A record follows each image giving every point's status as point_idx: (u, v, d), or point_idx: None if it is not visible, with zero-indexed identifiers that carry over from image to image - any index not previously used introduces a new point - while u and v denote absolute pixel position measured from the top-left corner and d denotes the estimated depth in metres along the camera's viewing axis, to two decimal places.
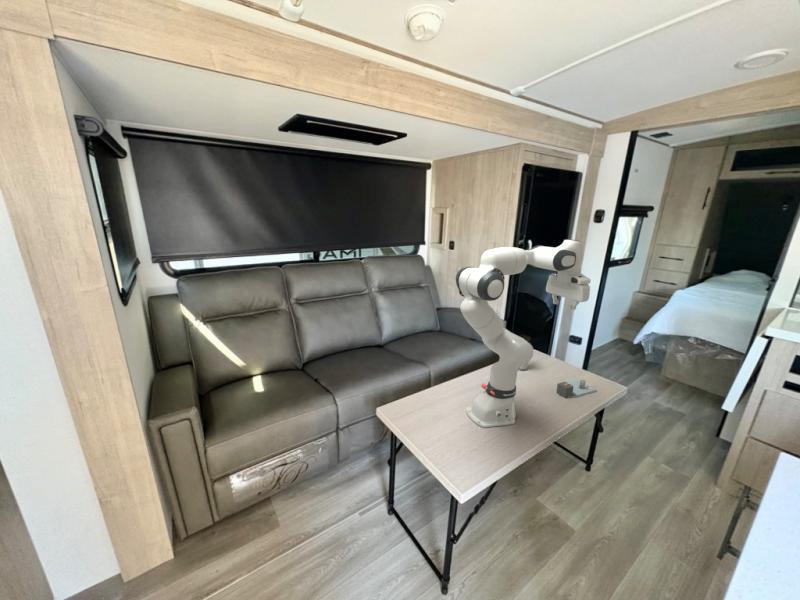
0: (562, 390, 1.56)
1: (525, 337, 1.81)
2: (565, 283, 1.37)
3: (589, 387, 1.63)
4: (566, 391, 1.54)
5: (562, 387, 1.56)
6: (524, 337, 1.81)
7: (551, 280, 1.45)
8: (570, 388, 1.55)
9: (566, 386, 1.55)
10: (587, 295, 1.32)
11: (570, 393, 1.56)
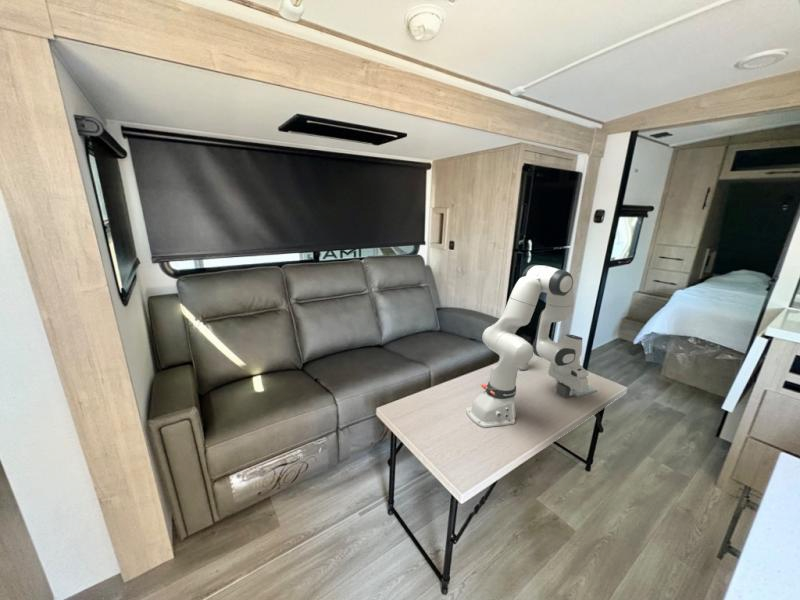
0: (562, 390, 1.56)
1: (525, 337, 1.81)
2: (566, 373, 1.52)
3: (589, 387, 1.63)
4: (566, 391, 1.54)
5: (562, 387, 1.56)
6: (524, 337, 1.81)
7: (553, 366, 1.60)
8: None
9: (566, 386, 1.55)
10: (585, 387, 1.47)
11: None
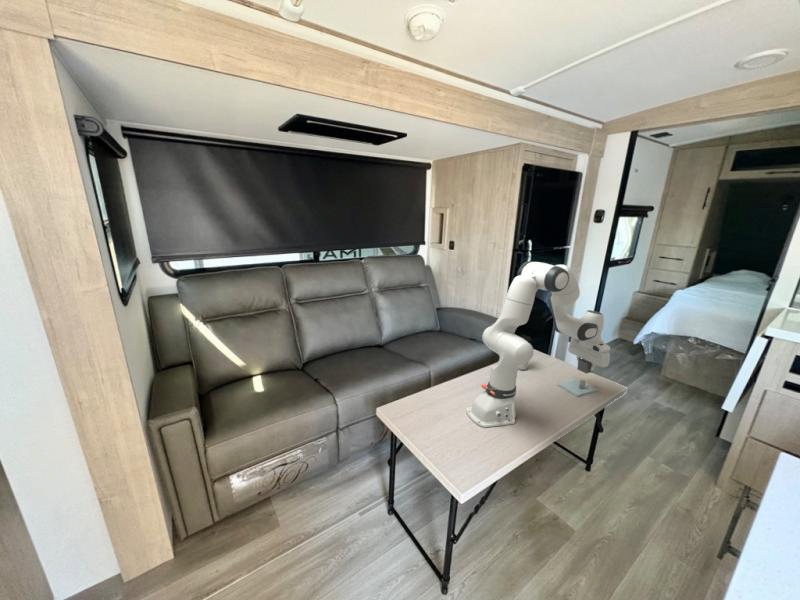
0: (583, 365, 1.57)
1: (525, 337, 1.81)
2: (587, 349, 1.54)
3: (589, 387, 1.63)
4: (588, 367, 1.56)
5: (583, 363, 1.57)
6: (524, 337, 1.81)
7: (573, 343, 1.62)
8: (591, 364, 1.56)
9: (587, 362, 1.57)
10: (607, 362, 1.48)
11: None
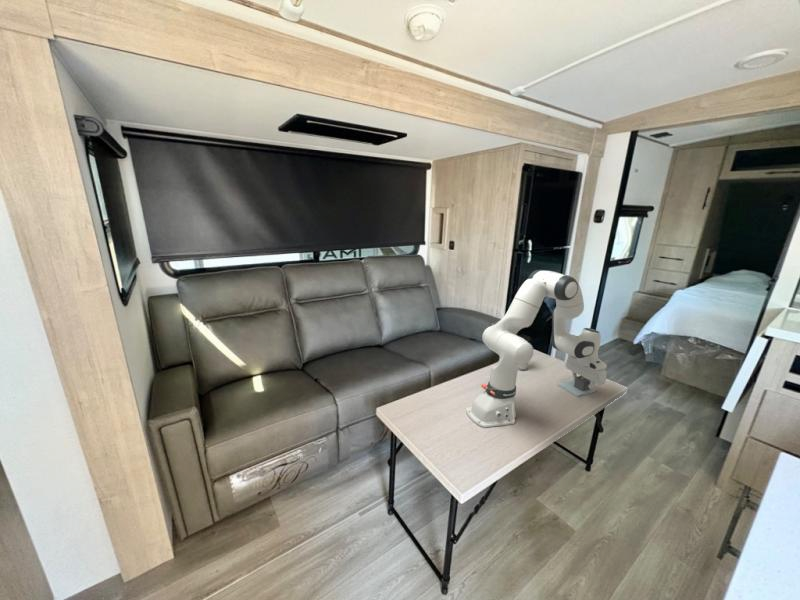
0: (580, 383, 1.60)
1: (525, 337, 1.81)
2: (584, 366, 1.56)
3: None
4: (584, 385, 1.58)
5: (580, 381, 1.59)
6: (524, 337, 1.81)
7: (571, 359, 1.64)
8: (587, 381, 1.59)
9: (583, 380, 1.59)
10: (604, 379, 1.51)
11: None
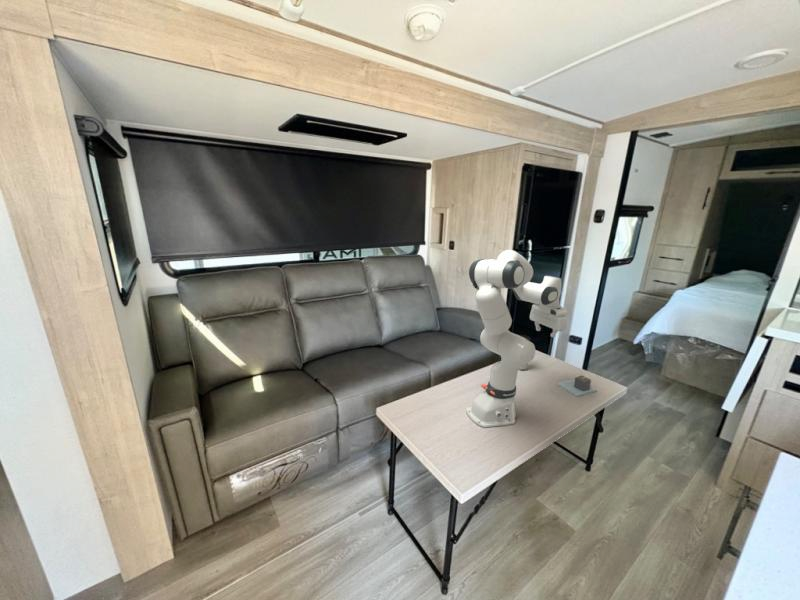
0: (580, 383, 1.60)
1: (525, 337, 1.81)
2: (545, 313, 1.54)
3: None
4: (584, 385, 1.58)
5: (580, 381, 1.59)
6: (524, 337, 1.81)
7: (534, 310, 1.62)
8: (587, 381, 1.59)
9: (583, 380, 1.59)
10: (564, 325, 1.49)
11: (588, 386, 1.60)
